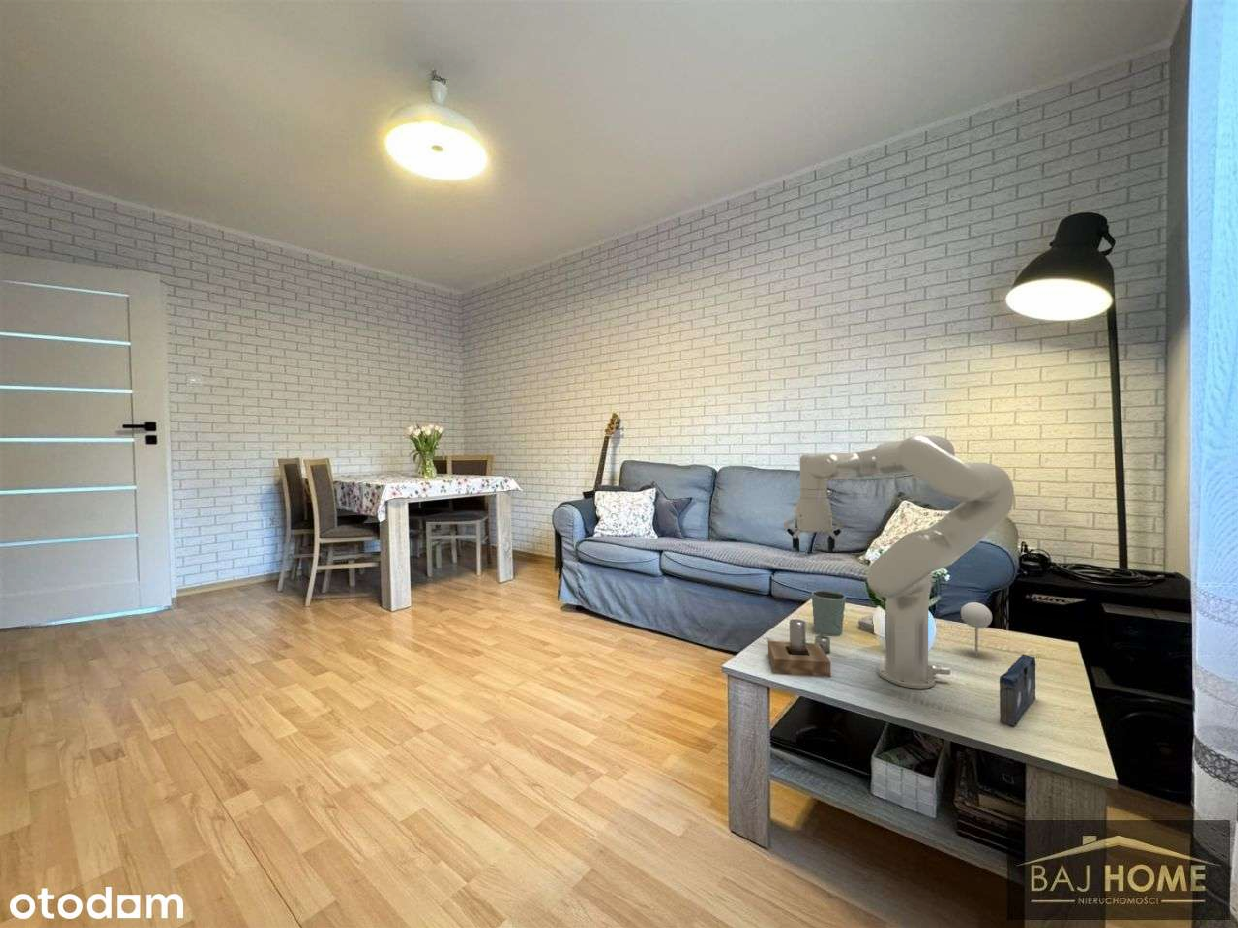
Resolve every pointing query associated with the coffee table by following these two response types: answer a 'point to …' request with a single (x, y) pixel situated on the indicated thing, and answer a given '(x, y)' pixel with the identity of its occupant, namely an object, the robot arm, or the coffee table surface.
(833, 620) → the grey green cup
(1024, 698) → the vhs cassette tape
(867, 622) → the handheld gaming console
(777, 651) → the hole block
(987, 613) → the lollipop
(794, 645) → the tall pin
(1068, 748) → the coffee table surface
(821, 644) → the short pin
